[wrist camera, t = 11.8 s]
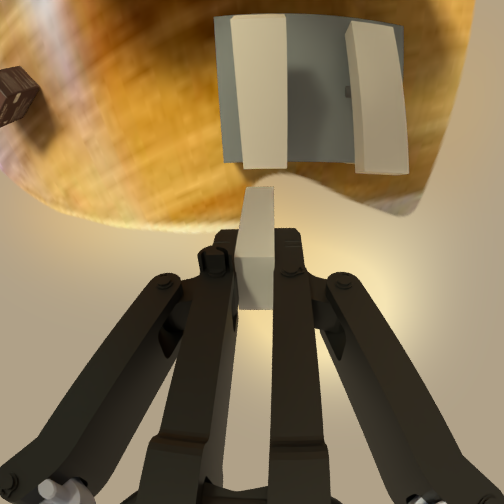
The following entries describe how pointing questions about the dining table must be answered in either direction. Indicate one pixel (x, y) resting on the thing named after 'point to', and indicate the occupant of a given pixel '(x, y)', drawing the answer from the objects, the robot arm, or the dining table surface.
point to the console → (302, 88)
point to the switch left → (261, 88)
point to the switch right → (377, 100)
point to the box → (15, 94)
